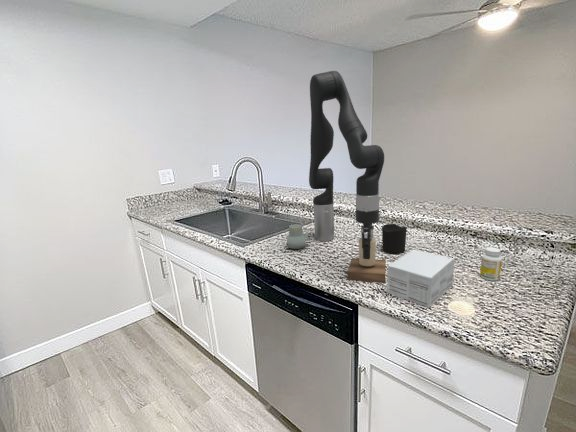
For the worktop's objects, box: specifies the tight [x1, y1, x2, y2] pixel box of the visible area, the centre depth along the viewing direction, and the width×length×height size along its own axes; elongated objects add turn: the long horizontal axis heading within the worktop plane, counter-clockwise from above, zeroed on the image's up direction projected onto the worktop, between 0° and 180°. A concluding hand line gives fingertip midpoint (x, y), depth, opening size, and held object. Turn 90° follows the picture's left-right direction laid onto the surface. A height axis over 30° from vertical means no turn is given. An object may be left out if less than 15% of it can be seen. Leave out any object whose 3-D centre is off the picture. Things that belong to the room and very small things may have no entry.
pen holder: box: [381, 223, 408, 255], centre depth 124 cm, size 9×9×10 cm
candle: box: [358, 236, 377, 266], centre depth 104 cm, size 6×6×10 cm
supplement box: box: [387, 249, 455, 308], centre depth 92 cm, size 17×13×9 cm
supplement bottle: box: [479, 246, 503, 282], centre depth 97 cm, size 5×5×10 cm
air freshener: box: [286, 223, 307, 250], centre depth 135 cm, size 11×8×10 cm
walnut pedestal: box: [347, 257, 387, 284], centre depth 106 cm, size 12×12×3 cm
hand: (367, 255), depth 104 cm, fingers closed on candle, 5 cm apart
